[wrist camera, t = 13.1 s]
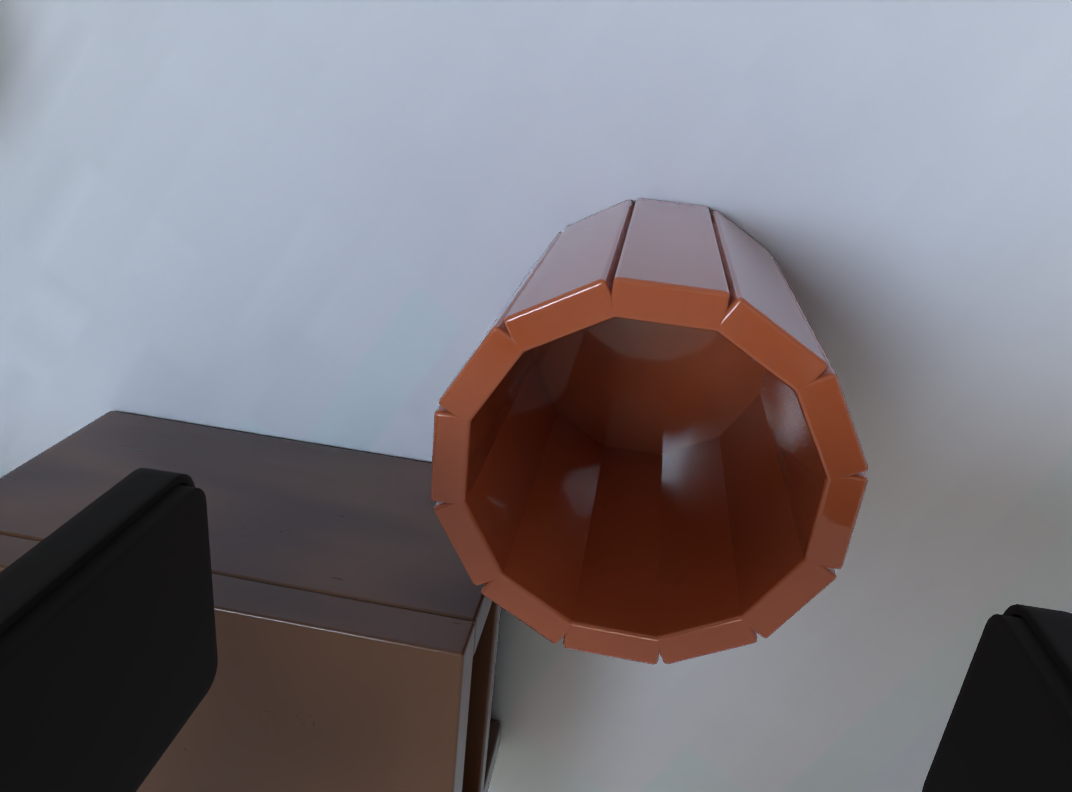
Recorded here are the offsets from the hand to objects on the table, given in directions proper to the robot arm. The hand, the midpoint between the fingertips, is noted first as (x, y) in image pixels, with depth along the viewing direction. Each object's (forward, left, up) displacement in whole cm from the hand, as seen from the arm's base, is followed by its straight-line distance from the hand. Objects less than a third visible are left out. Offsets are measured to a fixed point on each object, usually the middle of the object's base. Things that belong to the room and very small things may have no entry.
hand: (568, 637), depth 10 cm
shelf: (-8, -9, -11) cm, 16 cm away
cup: (+1, 0, -11) cm, 11 cm away
